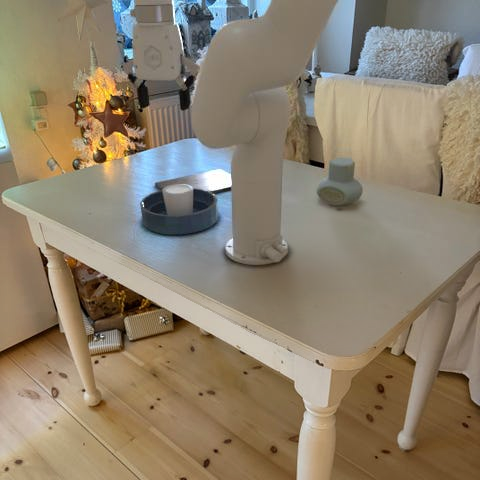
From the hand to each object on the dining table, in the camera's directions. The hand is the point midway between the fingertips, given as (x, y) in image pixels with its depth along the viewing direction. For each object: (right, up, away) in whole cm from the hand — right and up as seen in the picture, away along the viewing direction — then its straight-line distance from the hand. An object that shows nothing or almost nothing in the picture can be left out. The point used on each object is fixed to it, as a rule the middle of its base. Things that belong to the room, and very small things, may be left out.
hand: (164, 108), depth 107 cm
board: (+6, -10, +24) cm, 27 cm away
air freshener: (+40, -17, +14) cm, 46 cm away
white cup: (+3, -23, +6) cm, 24 cm away
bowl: (+3, -23, +6) cm, 24 cm away
